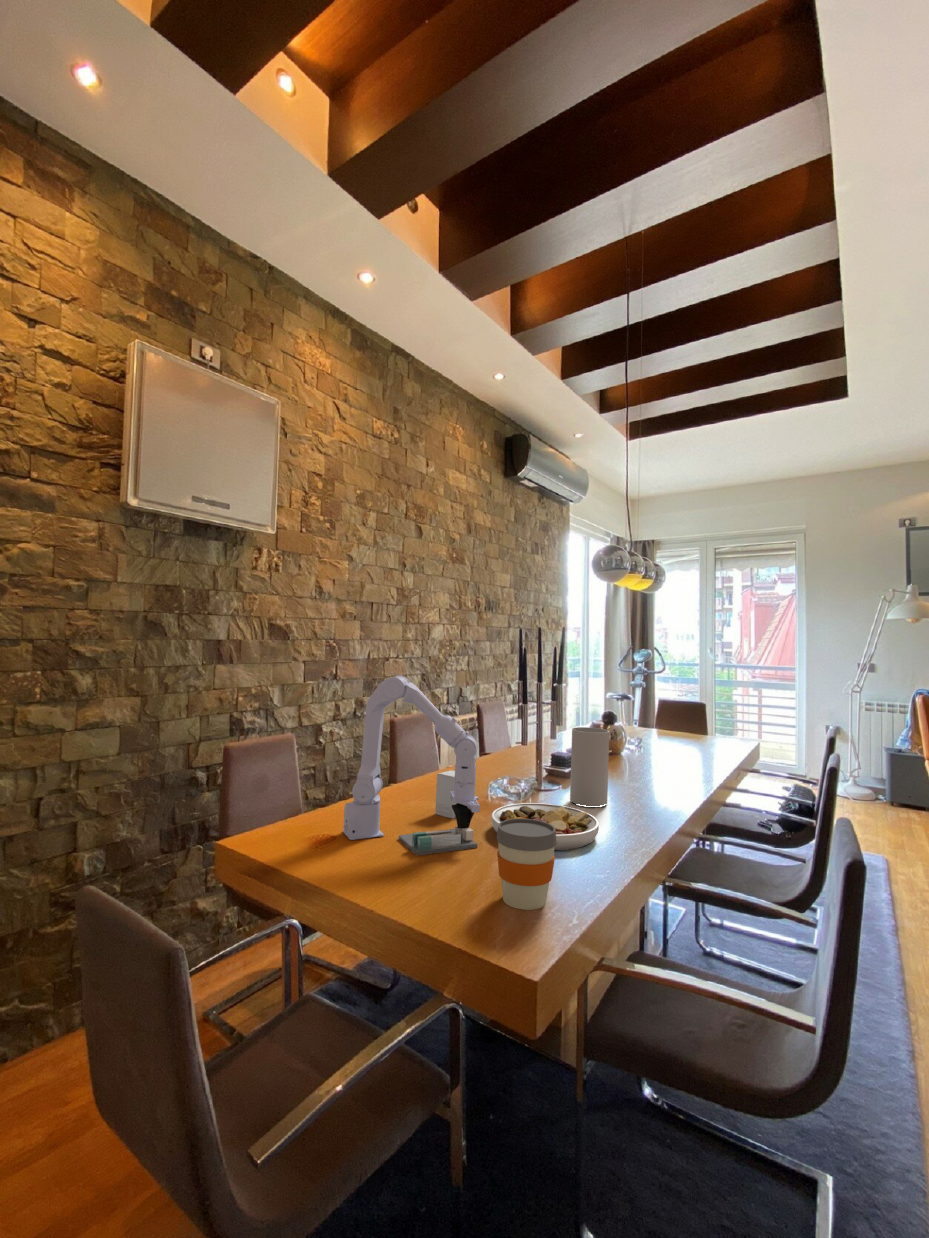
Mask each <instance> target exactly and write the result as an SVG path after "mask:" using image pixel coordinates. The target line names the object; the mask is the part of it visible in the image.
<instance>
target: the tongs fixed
mask: <svg viewBox="0 0 929 1238" xmlns="http://www.w3.org/2000/svg"><path fill="white" fill-rule="evenodd" d="M454 829H455V833H448V834H440V835H432V836H430V835H428V836H419V837H418V840H417V849H418V850H426V849H433V848H441V847H448V846H456V845H461V843H462V839H463V827H458V826H455V827H454Z"/></svg>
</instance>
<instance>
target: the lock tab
mask: <svg viewBox="0 0 929 1238" xmlns="http://www.w3.org/2000/svg"><path fill="white" fill-rule="evenodd" d="M463 839H464V840H466V841H468V840H473V841H474V830H473V829H472V828H471V827H469V828H464V829H463Z"/></svg>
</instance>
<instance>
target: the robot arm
mask: <svg viewBox="0 0 929 1238" xmlns="http://www.w3.org/2000/svg"><path fill="white" fill-rule="evenodd" d="M399 699H402V700H401V702H402V703H407V704H412V705H413V706H415V707H416V708H417V709H418V710H420V712H421V713H422V714H423V715H425V717H427V719H429V720H430V721H431V722H432V723H433V724H434V731H435V733H437V735H439V737H440V738H441V739H443V741H444V742H445V743H446V744H447V745H448V746H449V747H450V748H453V751H454V755H455V757H456V758H455V764H454V771H455V781H454V791H451V792H450V799H453V801H454V802H456V804H455V805H452V809H453V811H454V813H455V816H456V818H455V819H456V825H457V826H456V827H463V829H464V828H470V826H471V821H472V819H473V816H474V815H475V813H480V811H481V804H479V803H478V801H479V796H477V795H476V780H477V764H476V763H477V757H476V754H477V751H478V750H477V749H478V742H477V740H476V739H475V736H473V735H471V734H470V732H469V731H468V730H466V731H465V730H464V728H463V727H462V726H460V724H458V722H457V721H458V719H457V718H456V717H455V716H453V717H452V716H451V715H445V714H442V712H441V711H440V710H438V708H437V707H436V706H435V705H434V704H433V703H432V701H430V700H429V698H428V697H427V696H426V695H425V694H424V693H423V692H422V690H420V688H418V686H417V685H415V684H414V683H413V682H410V680H409V679H408V678H407V677H406V676H404V675H399V674H398V675H394V676H390V677H388V678H386V679H384V680H382V681H380V683H378V686H376V688H375V690H374V691H373V692H372V694H371V695H370V696H369V697H368V699H367V702H366V708H365V718H364V719H365V720H364V729H363V730H364V731H363V738H362V739H363V741H362V750H361V751H362V752H361V760H360V761H361V763H360V767H359V770H358V772H357V774H356V781H355V783H354V784H353V787H352V790H351V791H352V792H351V793H352V796H353V801H350V802H346V803H345V805H344V808H343V809H344V812H343V828H342V832H343V834H344V835H345V836H346V838H348V839H349V841H353V840H354V841H355V840H360V839H361V840H363V839H371V838H377V837H379V838H381V837H384V836H385V834H384V833H383V832H382V830H380V823H381V821H380V819H381V797H380V794H379V793H380V792H381V791H382V789H383V787H384V786H383V785H384V783H383V779H382V776H381V773H382V771H381V764H380V761H381V751H382V741H383V731H384V730H383V729H384V719H385V710H386V708H387V707H388V706H390V705H391V704H392V703H394V702H395V701H398V700H399Z"/></svg>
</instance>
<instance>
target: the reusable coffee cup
mask: <svg viewBox="0 0 929 1238" xmlns="http://www.w3.org/2000/svg"><path fill="white" fill-rule="evenodd" d="M496 841H497V843H498V845H497V846H498V850H497V854H496V855H497V866H498V867H497V868H498V875H499V878H500V879H501V890H502V900H503V902H504V903H505V904H506V905H507V906H509V907H511V908H514V909H517V910H518V909H519V910H524V911H530V910H531V911H533V910H538V909H541V908H543V907H544V906H545V905H546V903H547V898H548V893H549V885H550V882H551V881H552V879H553V874H554V866H555V860H556V856H555V850H554V847H555V846H556V844H557V841H556V829H555V827H554V826H553V825H551V824H549V823H546V822H543V821H539V820H534V819H508V820H504V821H502V822H500V823H499V825H498V831H497V832H496Z"/></svg>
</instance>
